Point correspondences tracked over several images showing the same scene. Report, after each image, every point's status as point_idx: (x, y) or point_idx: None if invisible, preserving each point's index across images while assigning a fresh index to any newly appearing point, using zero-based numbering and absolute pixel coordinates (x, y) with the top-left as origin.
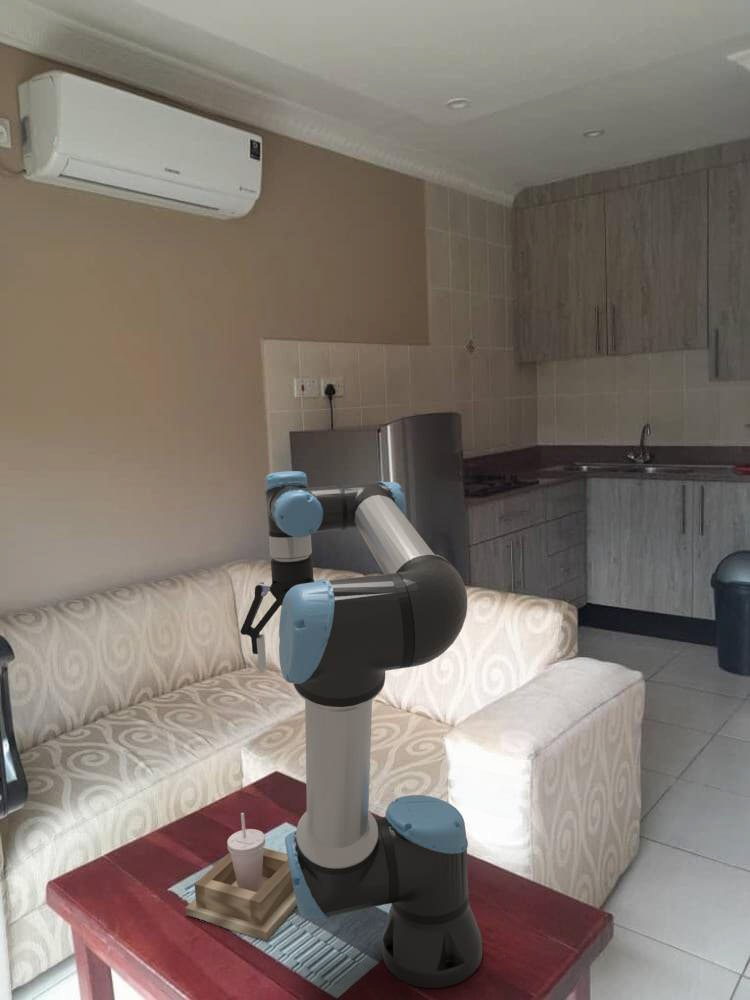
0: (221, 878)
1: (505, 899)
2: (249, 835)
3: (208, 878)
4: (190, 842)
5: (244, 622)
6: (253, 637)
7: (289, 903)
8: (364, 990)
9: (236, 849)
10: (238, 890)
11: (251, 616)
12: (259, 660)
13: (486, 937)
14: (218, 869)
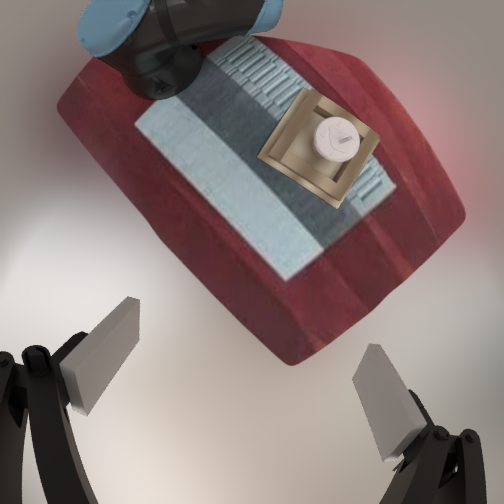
0: None
1: (97, 124)
2: (334, 143)
3: (367, 140)
4: (381, 260)
5: (482, 464)
6: (436, 427)
7: (282, 120)
8: None
9: (347, 120)
10: (335, 112)
11: (471, 492)
12: (391, 367)
13: (122, 81)
14: (359, 153)
